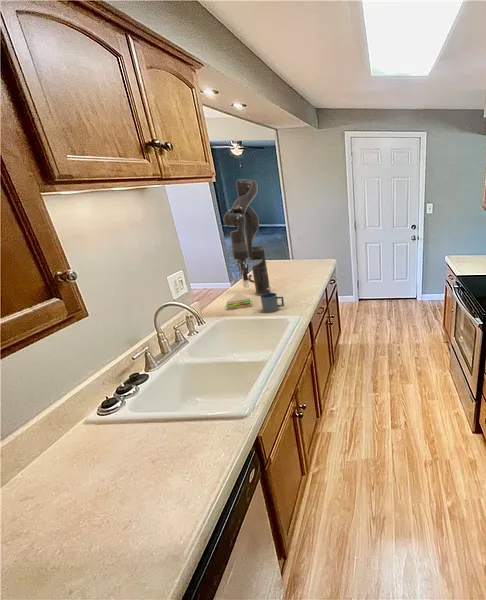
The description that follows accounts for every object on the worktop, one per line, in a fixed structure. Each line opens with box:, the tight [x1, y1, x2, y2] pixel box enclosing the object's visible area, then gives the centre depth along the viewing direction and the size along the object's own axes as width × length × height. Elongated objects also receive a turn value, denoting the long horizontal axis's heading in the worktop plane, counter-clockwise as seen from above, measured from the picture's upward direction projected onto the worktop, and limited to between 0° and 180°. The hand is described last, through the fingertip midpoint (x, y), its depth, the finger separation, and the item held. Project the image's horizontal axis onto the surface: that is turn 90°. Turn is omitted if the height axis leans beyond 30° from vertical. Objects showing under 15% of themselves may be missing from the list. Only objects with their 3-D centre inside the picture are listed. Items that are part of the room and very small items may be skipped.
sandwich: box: [224, 291, 253, 310], centre depth 208 cm, size 15×20×5 cm
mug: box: [259, 292, 285, 314], centre depth 198 cm, size 13×9×10 cm
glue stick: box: [240, 271, 250, 289], centre depth 189 cm, size 3×3×9 cm
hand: (245, 279), depth 189 cm, fingers closed on glue stick, 3 cm apart
